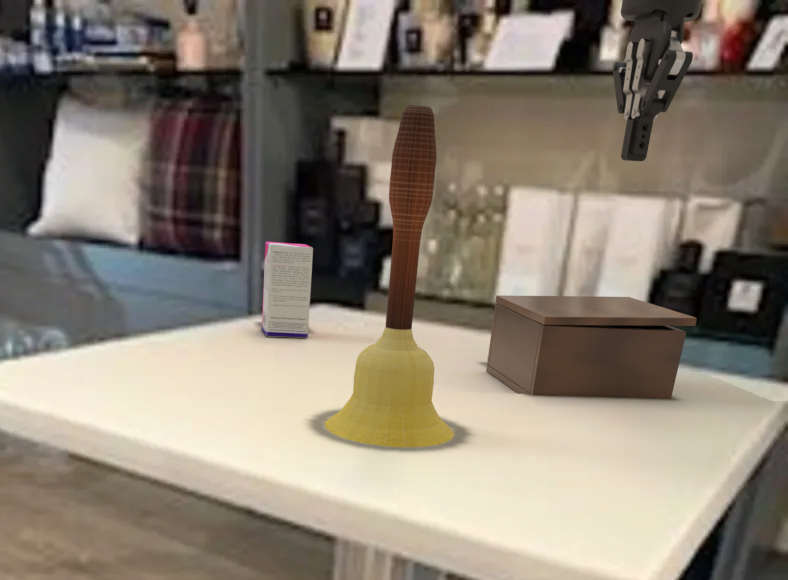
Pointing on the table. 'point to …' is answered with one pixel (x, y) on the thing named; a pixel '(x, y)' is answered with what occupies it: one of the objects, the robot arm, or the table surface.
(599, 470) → the table surface
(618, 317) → the lid
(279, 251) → the supplement box
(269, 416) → the table surface
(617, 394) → the brown open box
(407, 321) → the handbell
